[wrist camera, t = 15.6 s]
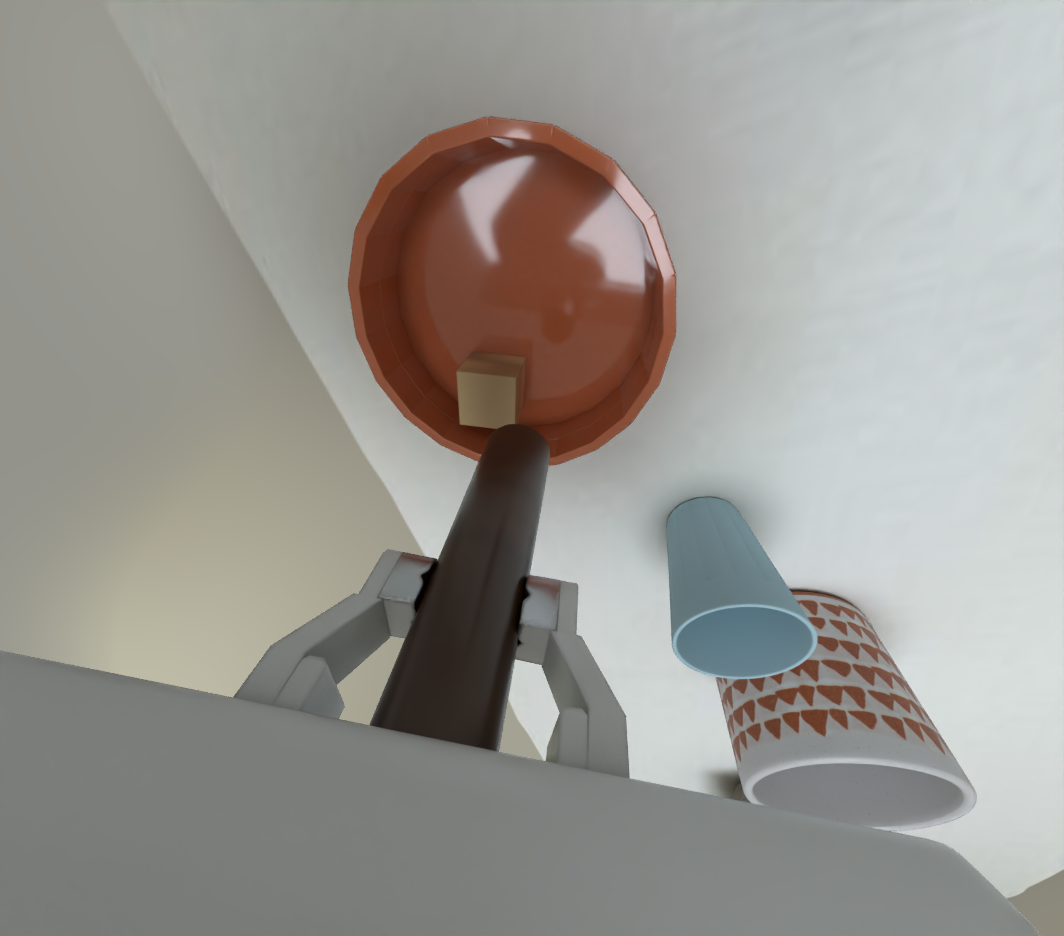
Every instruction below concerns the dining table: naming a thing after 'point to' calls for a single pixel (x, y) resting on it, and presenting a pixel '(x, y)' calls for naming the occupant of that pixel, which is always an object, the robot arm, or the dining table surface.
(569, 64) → the dining table surface
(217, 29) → the dining table surface
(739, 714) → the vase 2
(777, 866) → the robot arm
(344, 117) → the dining table surface
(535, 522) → the dark brown cylinder
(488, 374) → the block
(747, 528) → the cup
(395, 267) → the bowl
